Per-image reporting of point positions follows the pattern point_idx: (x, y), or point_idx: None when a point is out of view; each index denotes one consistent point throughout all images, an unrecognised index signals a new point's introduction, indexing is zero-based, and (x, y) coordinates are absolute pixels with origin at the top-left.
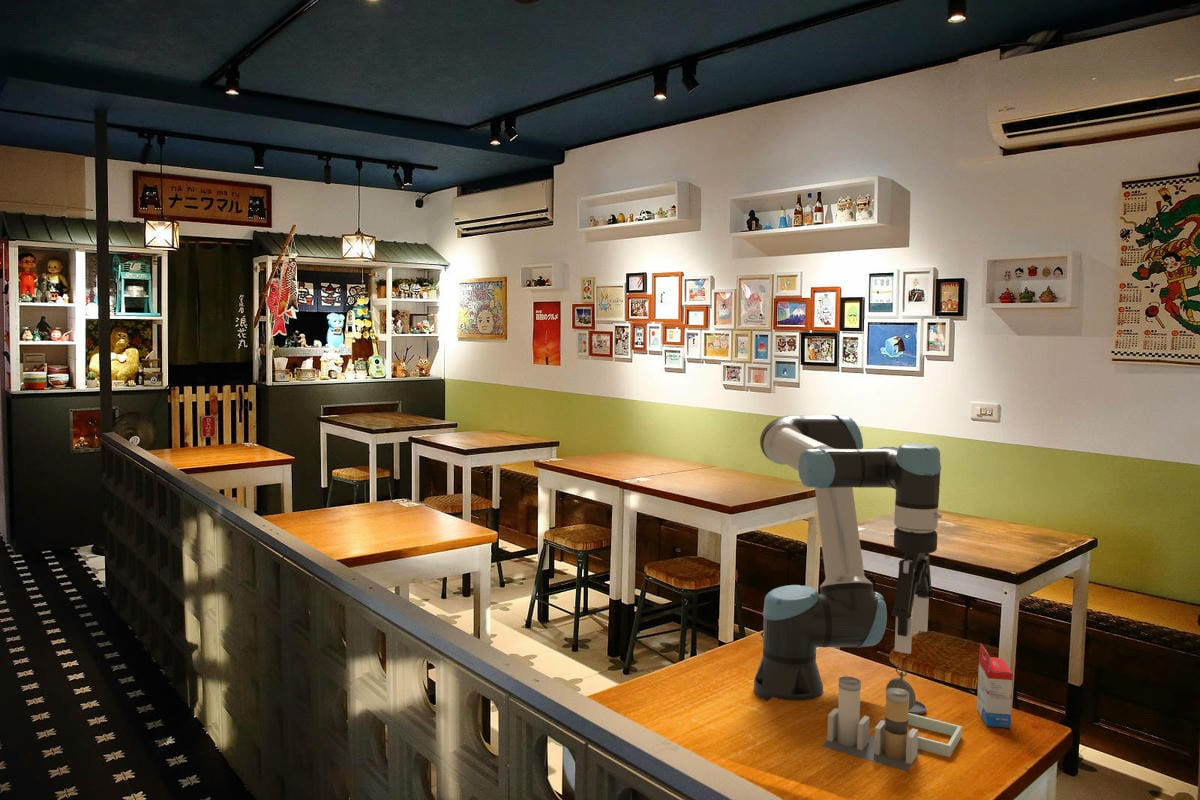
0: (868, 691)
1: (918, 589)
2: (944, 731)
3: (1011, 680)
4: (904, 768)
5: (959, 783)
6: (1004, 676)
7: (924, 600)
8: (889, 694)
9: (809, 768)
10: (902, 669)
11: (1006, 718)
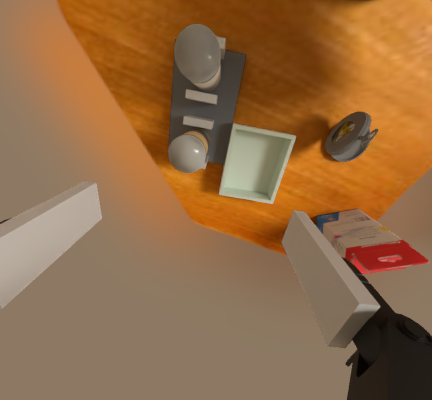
0: (405, 78)
1: (370, 379)
2: (272, 184)
3: None
4: None
5: (188, 195)
6: None
7: (327, 327)
8: (171, 142)
9: (132, 35)
10: (368, 141)
11: None
